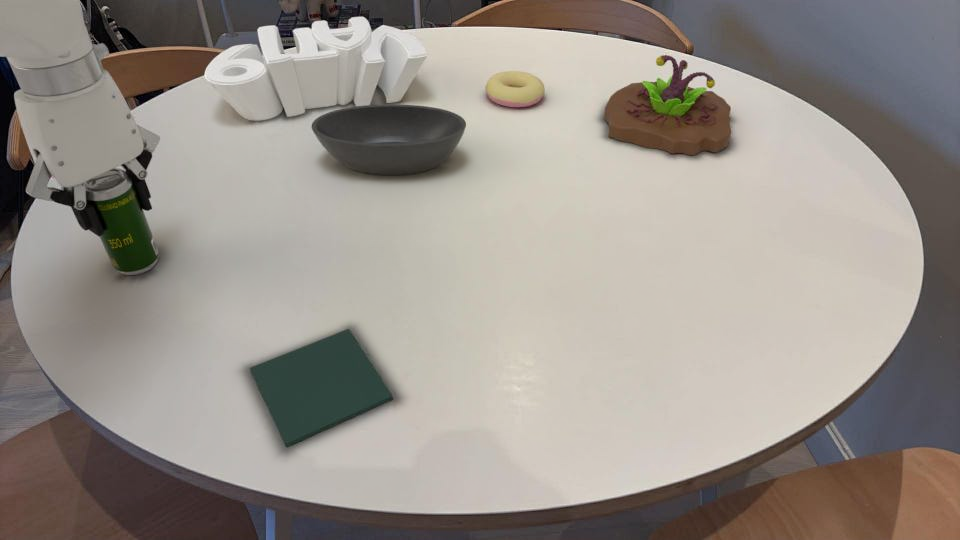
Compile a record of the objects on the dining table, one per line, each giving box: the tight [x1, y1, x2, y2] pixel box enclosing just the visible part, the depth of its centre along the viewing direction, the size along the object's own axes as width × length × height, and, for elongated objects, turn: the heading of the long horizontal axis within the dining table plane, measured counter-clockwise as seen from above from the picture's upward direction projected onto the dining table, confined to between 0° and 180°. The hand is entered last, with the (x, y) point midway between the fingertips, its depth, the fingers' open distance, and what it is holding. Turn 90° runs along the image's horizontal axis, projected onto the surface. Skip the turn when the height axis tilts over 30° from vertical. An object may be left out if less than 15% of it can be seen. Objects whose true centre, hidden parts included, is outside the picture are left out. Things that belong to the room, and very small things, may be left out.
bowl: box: [311, 103, 467, 176], centre depth 102 cm, size 12×22×6 cm, turn 89°
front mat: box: [249, 328, 394, 448], centre depth 71 cm, size 11×11×1 cm
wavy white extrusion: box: [203, 16, 428, 122], centre depth 116 cm, size 35×16×11 cm, turn 103°
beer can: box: [85, 167, 160, 276], centre depth 82 cm, size 5×5×12 cm
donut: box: [485, 70, 546, 108], centre depth 118 cm, size 10×5×9 cm
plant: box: [603, 54, 732, 156], centre depth 109 cm, size 20×20×11 cm
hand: (118, 217), depth 81 cm, fingers closed on beer can, 5 cm apart
